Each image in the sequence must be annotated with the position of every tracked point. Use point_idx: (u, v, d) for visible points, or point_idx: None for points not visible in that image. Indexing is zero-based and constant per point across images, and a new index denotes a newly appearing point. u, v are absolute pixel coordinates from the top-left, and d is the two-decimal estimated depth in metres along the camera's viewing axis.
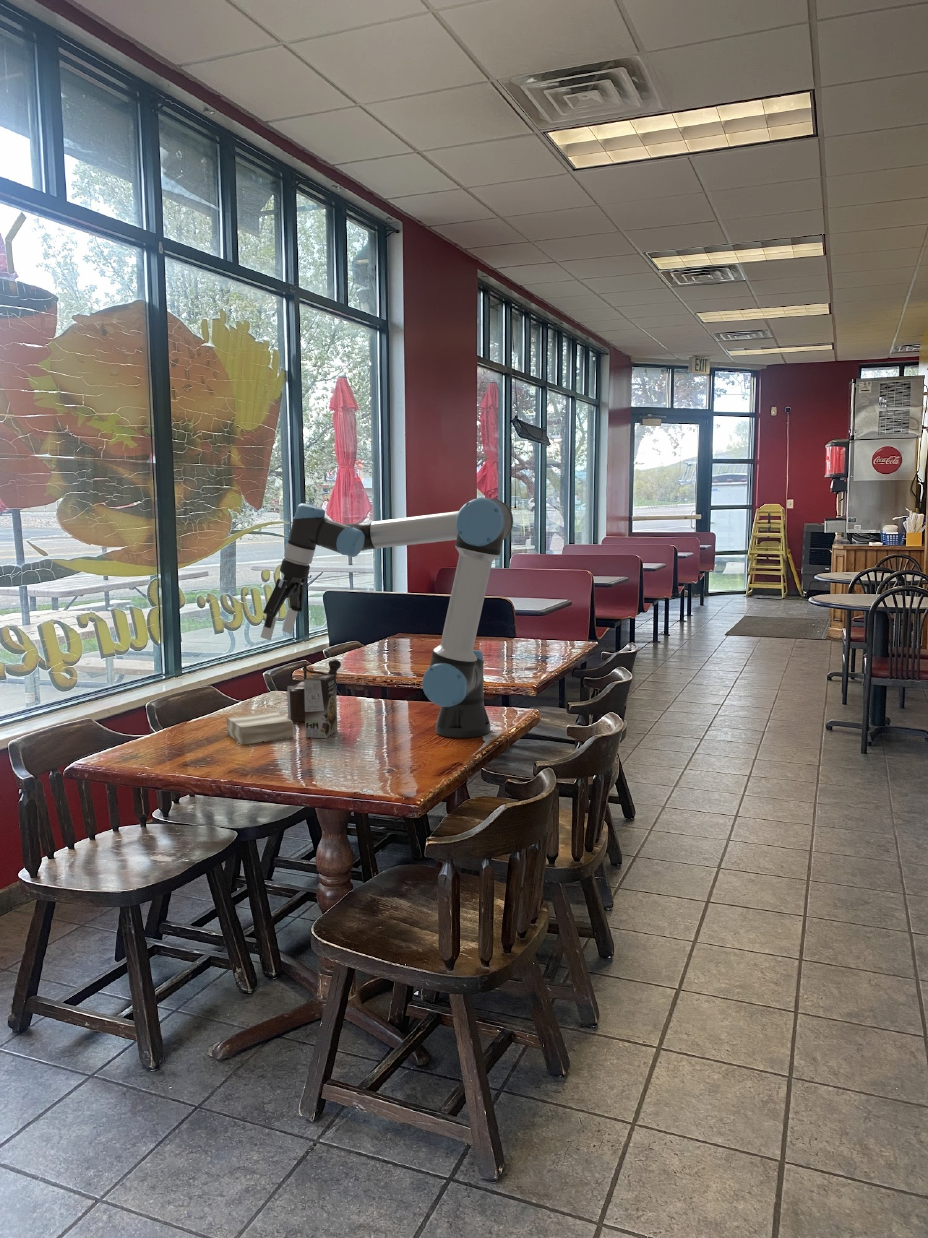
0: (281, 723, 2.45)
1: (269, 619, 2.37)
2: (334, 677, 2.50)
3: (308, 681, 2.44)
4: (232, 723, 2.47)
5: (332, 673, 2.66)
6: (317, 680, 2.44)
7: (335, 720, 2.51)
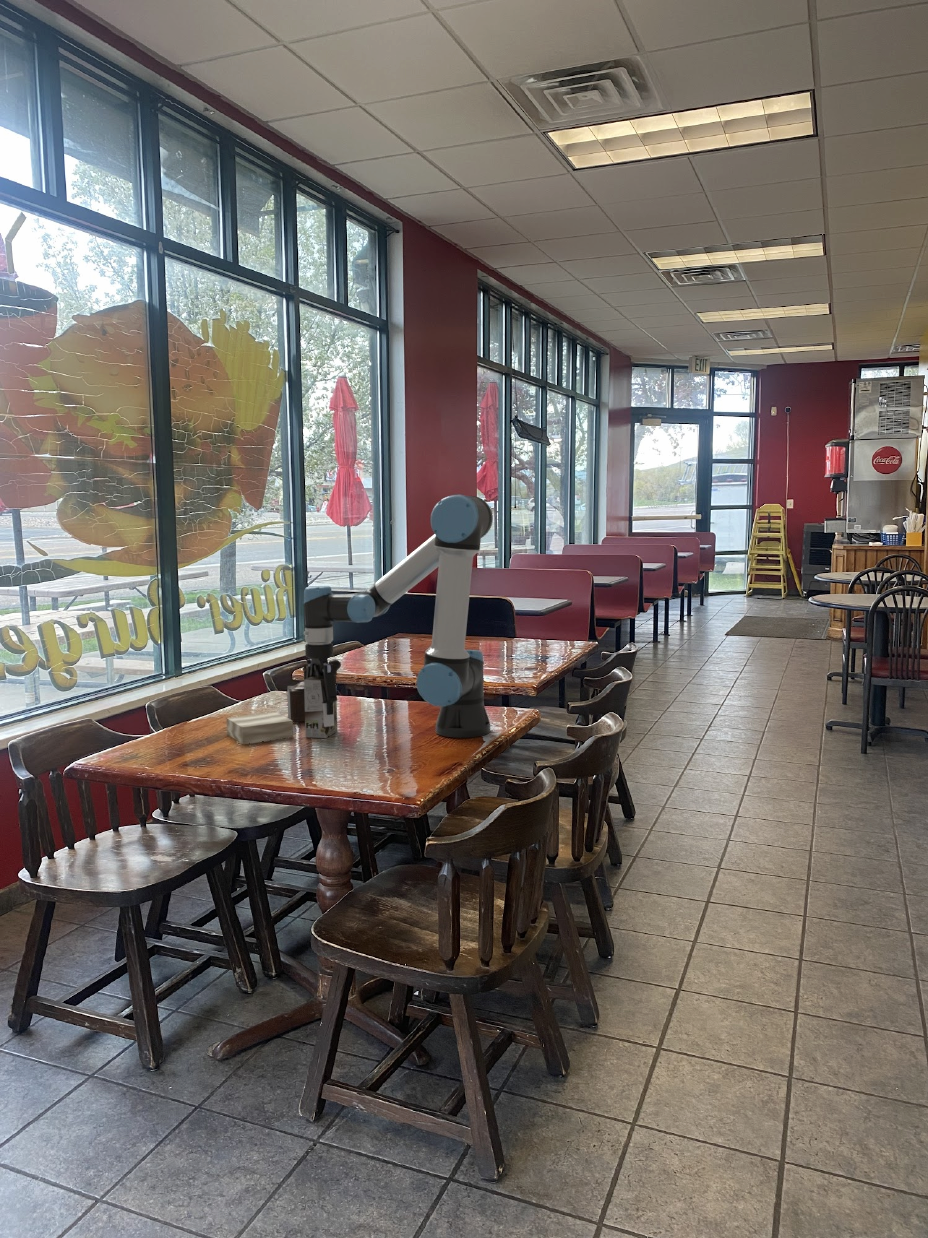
0: (281, 723, 2.45)
1: (331, 706, 2.43)
2: (334, 677, 2.50)
3: (308, 681, 2.44)
4: (232, 723, 2.47)
5: None
6: (317, 680, 2.44)
7: (335, 720, 2.51)
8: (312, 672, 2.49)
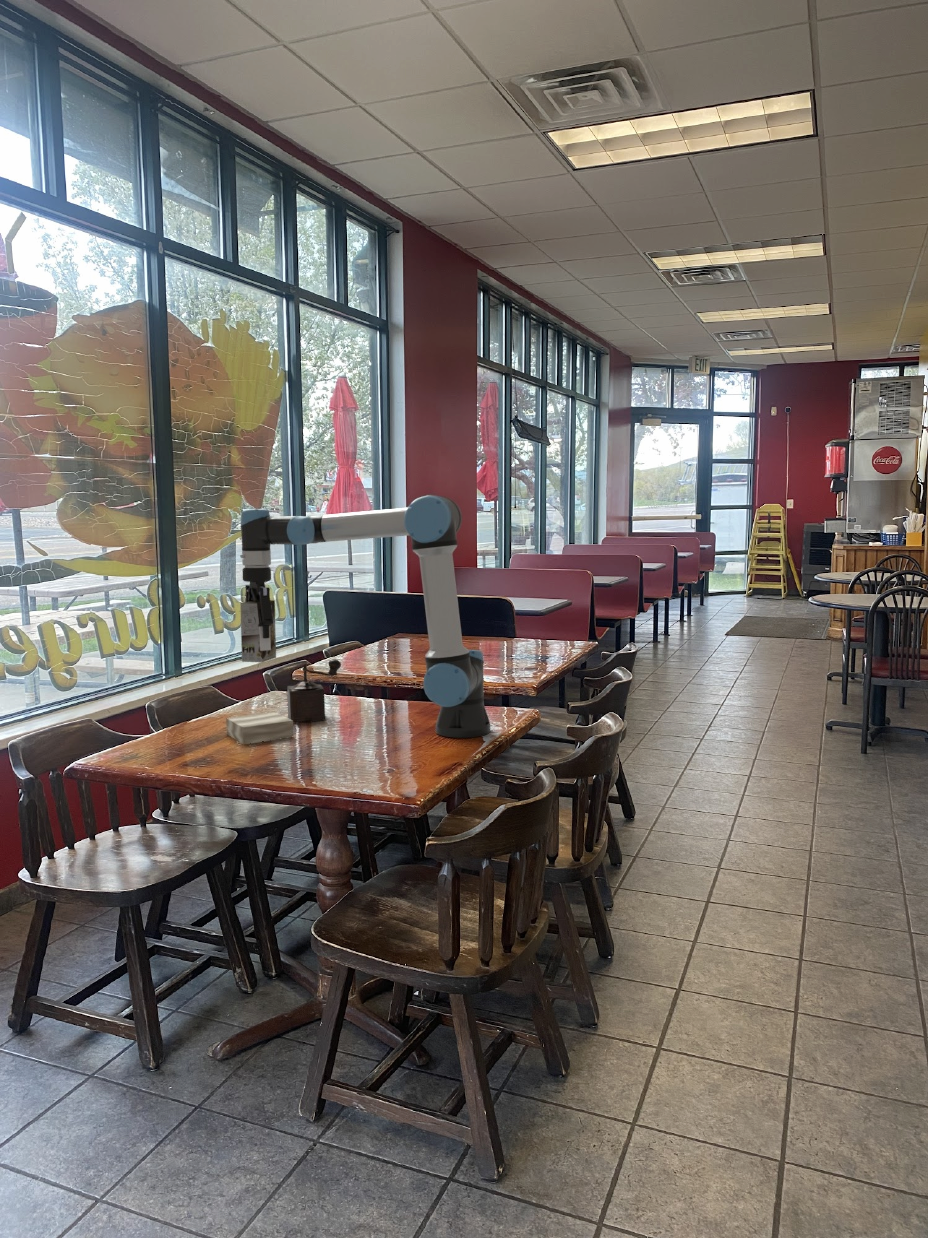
0: (282, 723, 2.45)
1: (267, 629, 2.40)
2: (272, 602, 2.47)
3: (244, 604, 2.41)
4: (232, 723, 2.46)
5: (332, 673, 2.66)
6: (253, 603, 2.41)
7: (273, 646, 2.49)
8: (250, 597, 2.46)
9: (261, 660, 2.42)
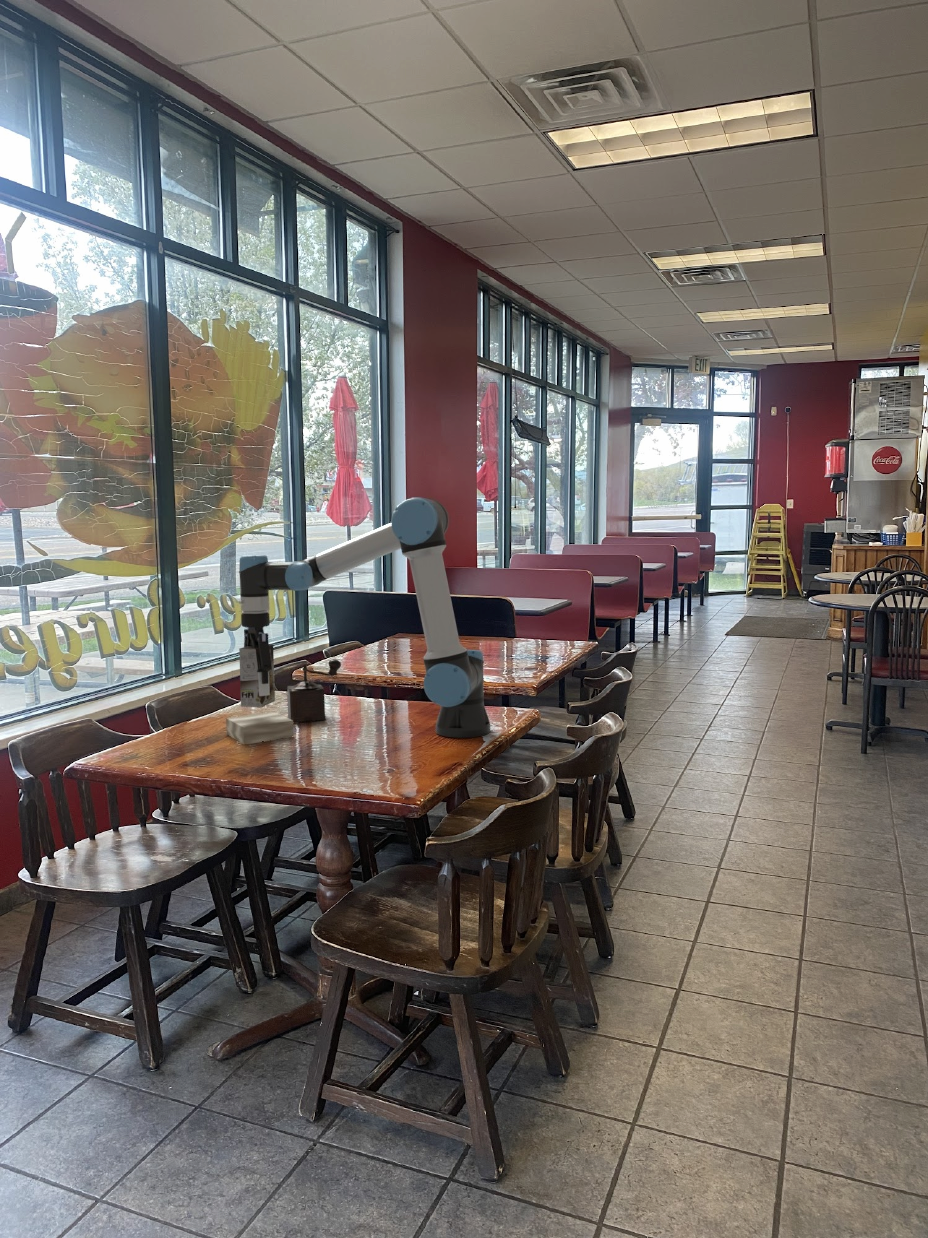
0: (282, 723, 2.45)
1: (266, 675, 2.41)
2: (271, 646, 2.49)
3: (243, 650, 2.43)
4: (232, 723, 2.46)
5: (332, 673, 2.66)
6: (252, 649, 2.42)
7: (272, 690, 2.50)
8: (248, 641, 2.47)
9: (260, 705, 2.43)
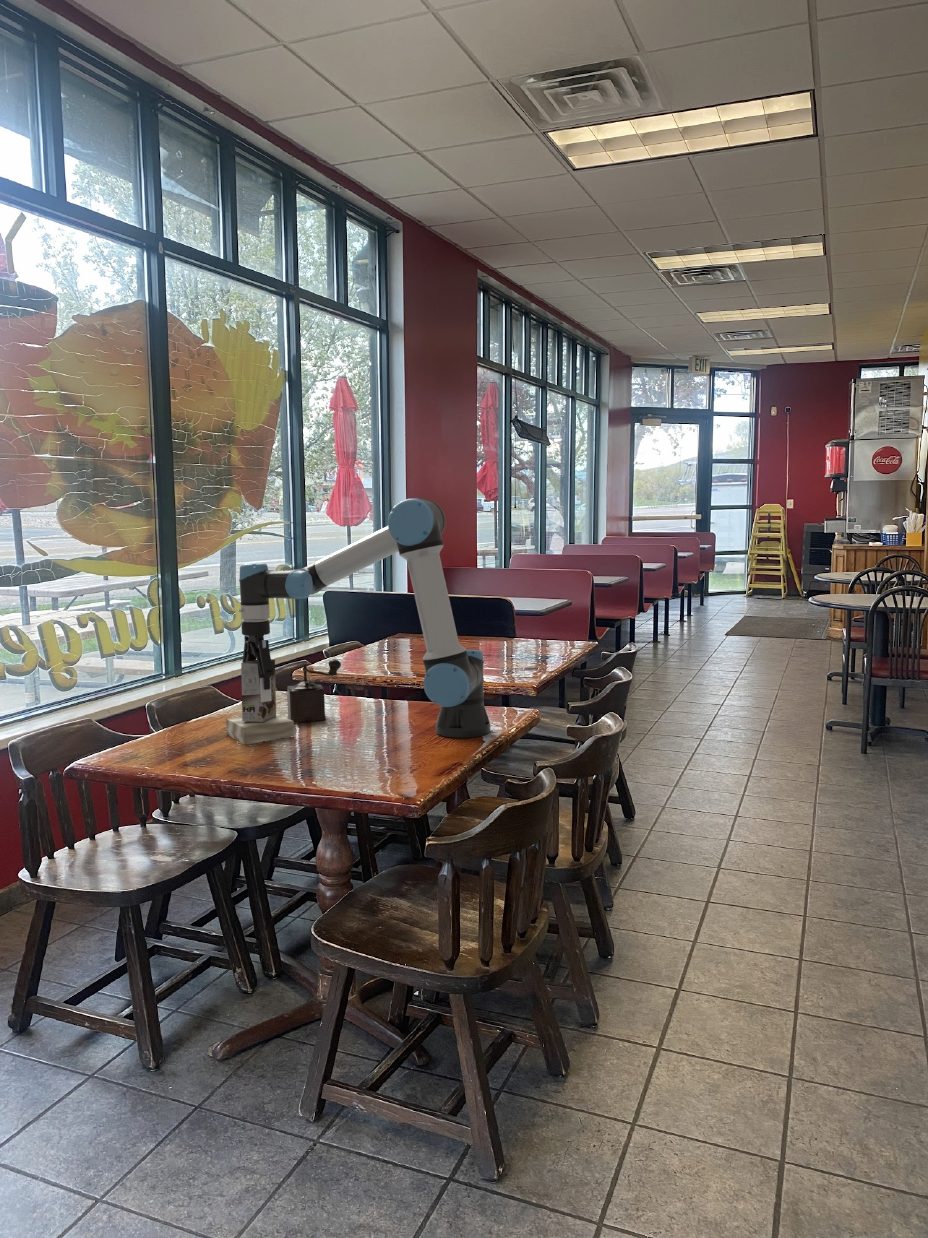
0: (282, 723, 2.45)
1: (268, 681, 2.40)
2: (272, 661, 2.50)
3: (245, 664, 2.44)
4: (232, 724, 2.46)
5: (332, 673, 2.66)
6: (254, 663, 2.44)
7: (273, 705, 2.51)
8: (248, 649, 2.48)
9: (261, 720, 2.44)
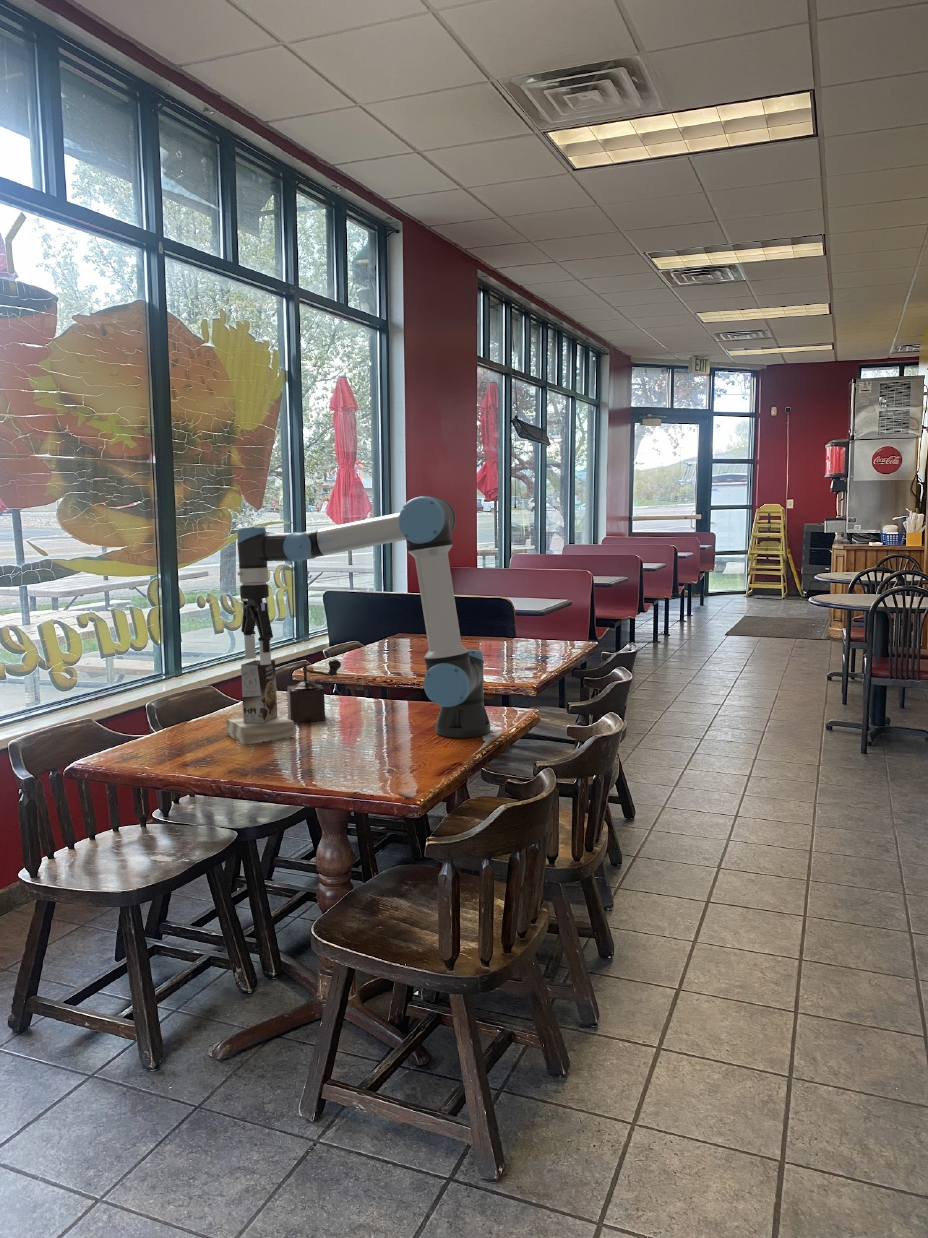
0: (283, 724, 2.45)
1: (267, 643, 2.39)
2: (272, 662, 2.49)
3: (245, 666, 2.43)
4: (233, 724, 2.46)
5: (332, 673, 2.66)
6: (254, 665, 2.43)
7: (274, 705, 2.50)
8: (247, 613, 2.47)
9: (262, 721, 2.44)
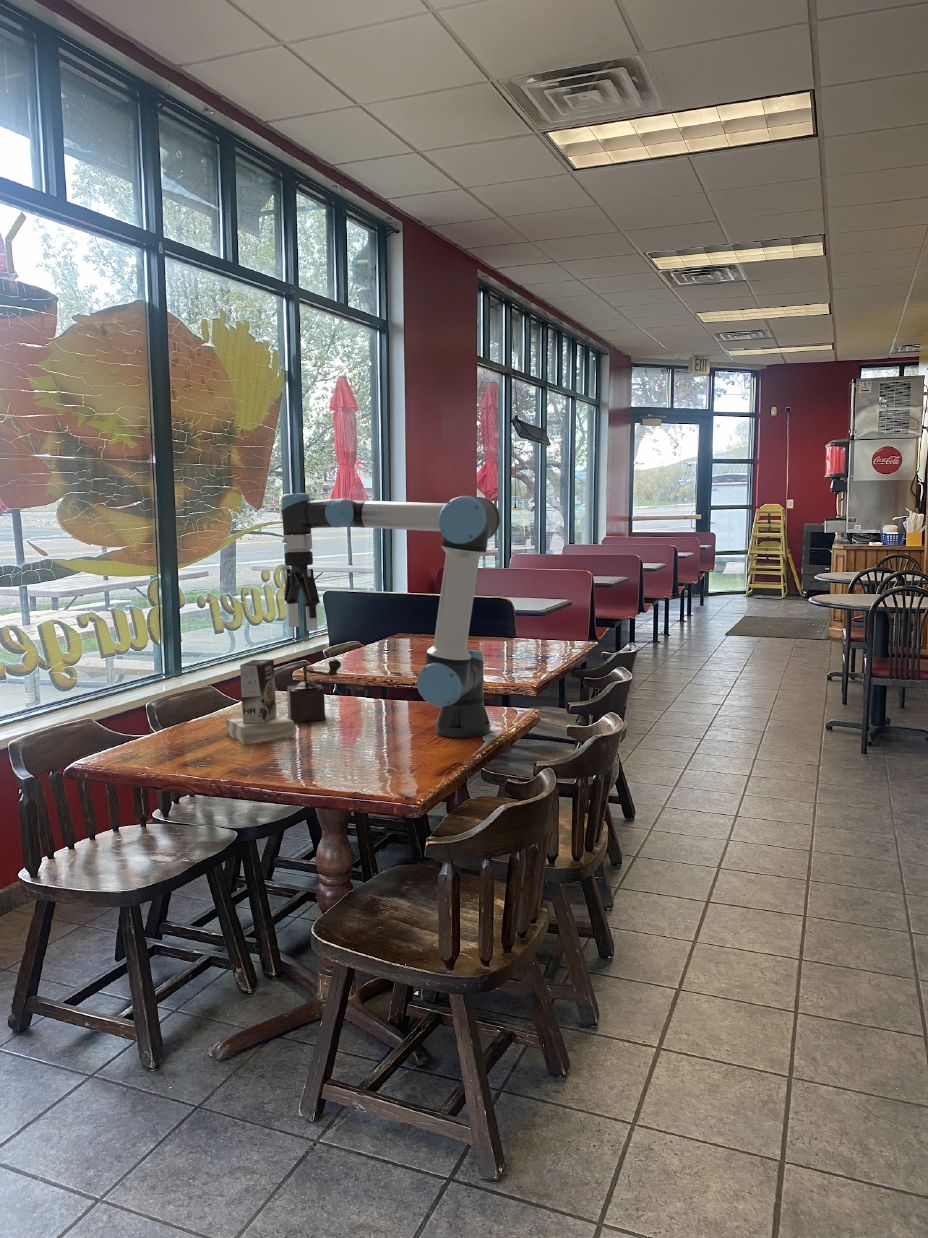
0: (282, 723, 2.45)
1: (314, 609, 2.40)
2: (271, 662, 2.49)
3: (244, 666, 2.43)
4: (232, 724, 2.46)
5: (332, 673, 2.66)
6: (253, 665, 2.42)
7: (273, 705, 2.50)
8: (292, 581, 2.48)
9: (262, 721, 2.44)
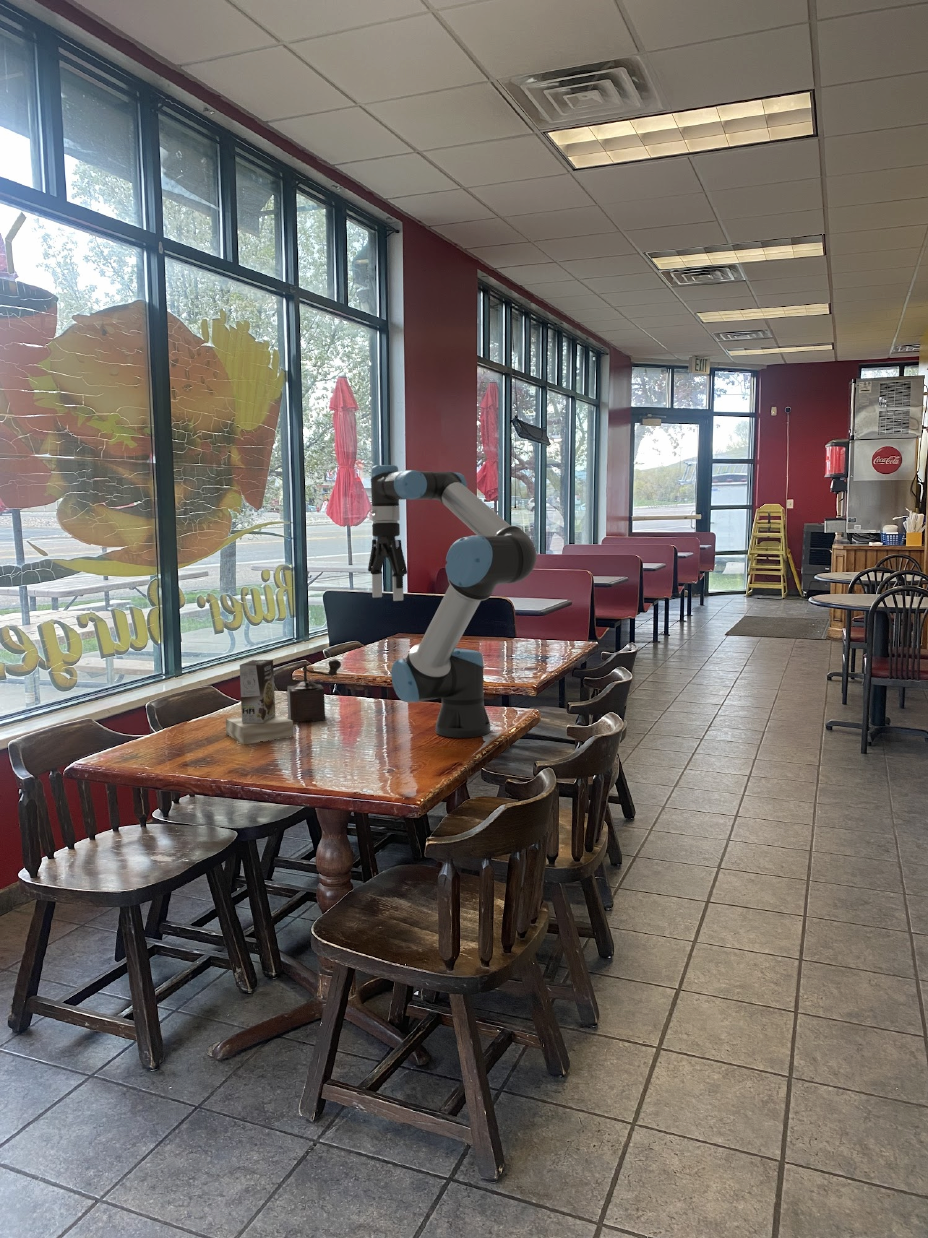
0: (282, 723, 2.45)
1: (401, 579, 2.44)
2: (271, 662, 2.49)
3: (244, 666, 2.43)
4: (232, 724, 2.47)
5: (332, 673, 2.66)
6: (253, 665, 2.42)
7: (273, 705, 2.50)
8: (378, 551, 2.51)
9: (261, 721, 2.44)
